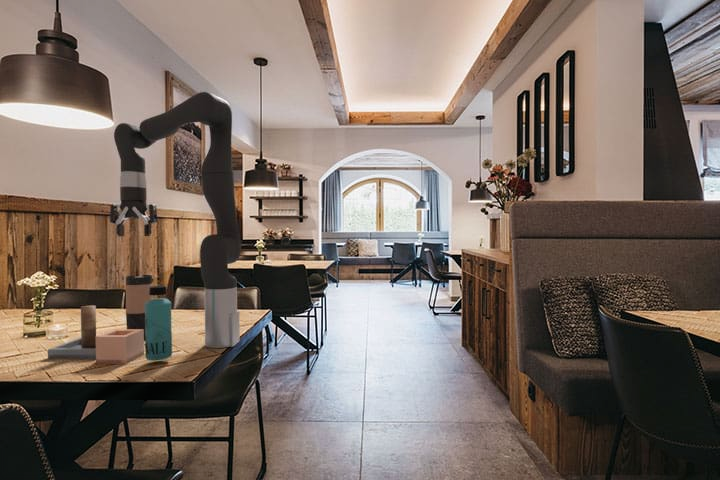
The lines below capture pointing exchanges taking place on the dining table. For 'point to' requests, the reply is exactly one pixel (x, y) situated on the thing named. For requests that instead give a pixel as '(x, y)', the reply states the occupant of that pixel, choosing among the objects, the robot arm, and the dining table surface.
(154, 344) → the beverage bottle
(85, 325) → the walnut dowel
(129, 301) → the travel mug
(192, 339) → the dining table surface
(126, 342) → the pin cup
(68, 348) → the slate tray
